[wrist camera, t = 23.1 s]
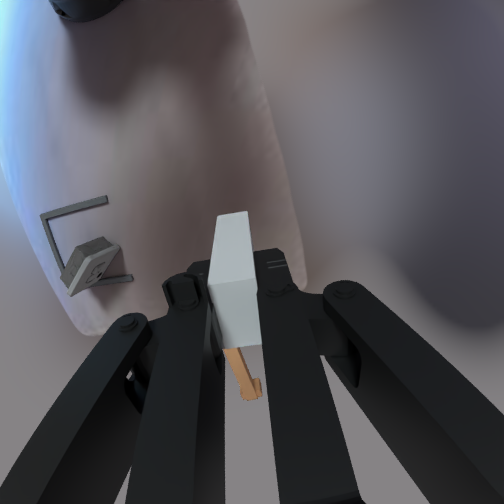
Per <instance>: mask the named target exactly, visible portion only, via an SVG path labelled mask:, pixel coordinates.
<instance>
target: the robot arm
mask: <svg viewBox="0 0 504 504" xmlns="http://www.w3.org/2000/svg"><path fill="white" fill-rule="evenodd" d="M122 1H123V0H49V2H50V3H51V5H52V7H53V9H54V10H55V12H56V13H57V14H58V15H59V16H61V17H63V18H65V19H67V20H69V21H73V22H86V21H91V20H94V19H96V18H99V17H101V16H103V15H105V14H107V13H108V12H110V11H111V10H113V9H114V8H115V7H116V6H118V5H119V4H120V3H121V2H122ZM162 288H163V291H164V294H165V297H166V300H167V302H168V305H169V309H168V313H167V315H166V316H163V317H161V318H158V319H155V320H152V321H149V322H148V320H147V318H146V316H145V315H143V314H141V313H129V314H126V315H123V316H122V317H120V318H118V319H117V320H116V321H115V322H114V323H113V324H112V325H111V326H110V328H109V329H108V330H107V331H106V333H105V334H104V335H103V337H102V338H101V339H100V341H99V342H98V343H97V345H96V346H95V347H94V348H93V350H92V351H91V352H90V354H89V355H88V356H87V358H86V359H85V361H84V362H83V363H82V364H81V366H80V367H79V369H78V370H77V372H76V373H75V374H74V375H73V377H72V378H71V380H70V381H69V382H68V384H67V385H66V387H65V388H64V390H63V391H62V392H61V394H60V395H59V396H58V398H57V399H56V401H55V402H54V404H53V405H52V407H51V408H50V410H49V411H48V412H47V414H46V416H45V417H44V418H43V420H42V421H41V423H40V424H39V426H38V427H37V429H36V430H35V432H34V433H33V435H32V436H31V438H30V440H29V441H28V443H27V444H26V446H25V447H24V449H23V450H22V452H21V454H20V455H19V457H18V459H17V460H16V462H15V463H14V465H13V467H12V468H11V470H10V472H9V473H8V475H7V477H6V479H5V480H4V482H3V484H2V486H1V487H0V504H114V502H115V500H116V498H117V495H118V493H119V491H120V489H121V487H122V485H123V482H124V480H125V478H126V476H127V474H128V472H129V469H130V467H131V472H130V477H129V483H128V489H127V495H126V502H125V504H225V425H224V424H225V357H224V354H223V350H222V340H223V344H224V347H225V349H230V348H238V347H245V346H252V345H259V344H262V349H263V358H264V367H265V375H266V385H267V394H268V402H269V411H270V420H271V428H272V437H273V446H274V456H275V464H276V473H277V482H278V491H279V500H280V504H366V503H365V502H364V501H363V500H362V498H361V496H360V493H359V490H358V486H357V482H356V479H355V475H354V471H353V467H352V464H351V460H350V456H349V453H348V449H347V446H346V442H345V438H344V435H343V431H342V428H341V424H340V421H339V418H338V414H337V411H336V407H335V404H334V400H333V397H332V394H331V390H330V387H329V384H328V381H327V377H326V374H325V371H324V367H323V364H322V361H321V358H320V355H324V356H325V359H326V361H327V362H328V363H329V365H330V366H331V368H332V369H333V370H334V372H335V373H336V375H337V376H338V377H339V379H340V380H341V382H342V383H343V384H344V386H345V387H346V389H347V390H348V391H349V393H350V394H351V395H352V397H353V398H354V400H355V401H356V402H357V404H358V405H359V407H360V408H361V409H362V410H363V412H364V413H365V415H366V416H367V418H368V419H369V420H370V422H371V423H372V424H373V426H374V427H375V429H376V430H377V431H378V433H379V434H380V436H381V437H382V438H383V440H384V441H385V442H386V444H387V445H388V447H389V448H390V449H391V451H392V452H393V453H394V455H395V456H396V457H397V459H398V460H399V462H400V463H401V464H402V466H403V467H404V468H405V470H406V471H407V473H408V474H409V475H410V477H411V478H412V479H413V481H414V482H415V484H416V485H417V486H418V488H419V489H420V490H421V492H422V493H423V495H424V496H425V497H426V499H427V500H428V501H429V503H430V504H504V415H503V414H502V413H501V412H500V411H499V410H498V409H497V408H496V407H495V406H494V405H493V404H492V403H491V402H490V401H489V400H488V399H487V398H486V397H485V396H484V395H483V394H482V393H481V392H480V391H479V390H478V389H477V388H476V387H475V386H474V385H473V384H472V383H471V382H469V381H468V380H467V379H466V378H465V377H464V376H463V375H462V374H461V373H460V372H459V371H458V370H457V369H456V368H455V367H454V366H453V365H452V364H451V363H449V362H448V361H447V360H446V359H445V358H444V357H443V356H442V355H441V354H440V353H439V352H438V351H436V350H435V349H434V348H433V347H432V346H431V345H430V344H429V343H428V342H427V341H425V340H424V339H423V338H422V337H421V336H420V335H419V334H418V333H416V332H415V331H414V330H413V329H412V328H411V327H410V326H409V325H408V324H406V323H405V322H404V321H403V320H402V319H401V318H399V317H398V316H397V315H396V314H395V313H394V312H393V311H392V310H390V309H389V308H388V307H387V306H386V305H385V304H384V303H382V302H381V301H380V300H379V299H378V298H377V297H375V296H374V295H373V294H372V293H371V292H370V291H368V290H367V289H366V288H365V287H364V286H362V285H361V284H359V283H357V282H353V281H350V280H341V281H336V282H333V283H331V284H329V285H327V286H326V287H325V289H324V291H323V294H311V293H306V292H302V291H300V290H299V289H298V287H297V286H296V284H295V283H293V280H292V277H291V274H290V271H289V268H288V265H287V262H286V259H285V256H284V253H283V252H282V251H280V250H279V249H277V248H273V249H267V250H261V251H255V252H254V248H253V242H252V236H251V230H250V224H249V218H248V212H247V211H243V212H237V213H231V214H225V215H220V216H217V223H216V229H215V236H214V242H213V249H212V256H211V260H205V261H198V262H194V263H193V264H192V265H191V266H190V267H189V268H188V269H187V272H184V273H180V274H176V275H174V276H172V277H170V278H169V279H167V280H166V281H165V282H164V283H163V285H162ZM129 371H131V372H132V375H131V377H130V378H129V379H127V378H126V376H127V375H128V373H129ZM131 465H132V466H131Z"/></svg>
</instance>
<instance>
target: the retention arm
mask: <svg viewBox="0 0 504 504" xmlns="http://www.w3.org/2000/svg"><path fill="white" fill-rule="evenodd" d="M222 349H224V352H225V354H226V356H227V358H228V361H229V363H230V365H231V368H232V370H233V372H234V374H235V376H236V378H237V380H238V383H239V385H240V393H241V396H242V398H243V400H244V399H246V400H247V401H249V400H254V399H258V397H260V396H262V389H261V382H260V380H259V378H255V379H252V378H251V375H250V373H249V370H248V368H247V365H246V363H245V360H244V358H243V355H242V353H241V350H240V348H239V347H238V348H230V349H225V347H224V344H223V340H222Z"/></svg>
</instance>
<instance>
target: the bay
mask: <svg viewBox="0 0 504 504" xmlns="http://www.w3.org/2000/svg"><path fill="white" fill-rule="evenodd" d="M107 201H108V198H107V195H106V196H102V197H98V198H94V199H91V200H87V201H83V202H80V203H76V204H73V205H70V206H66V207H63V208H59V209H56V210H53V211H50V212H46V213H43V214H41V215H40V218H41V221H42V224H43V227H44V230H45V232H46V235H47V238H48V241H49V244H50V246H51V249H52V251H53V254H54V257H55V259H56V262H57V264H58V267H59V269H60V271H61V274H62V273H63V271H64V269H65V267H64V264H63V262H62V259H61V257H60V254H59V251H58V249H57V246H56V243H55V241H54V238H53V235H52V232H51V229H50V227H49V224H48V221H47V218H50V217H54V216H57V215H61V214H64V213H68V212H71V211H75V210H78V209H82V208H86V207H89V206H93V205H97V204H101V203H105V202H107ZM127 281H133V276H132V274H130V275H124V276H118V277H111V278H105V279H99V280H98V281H97V282H96V283H94V284H92V285H91V286H89V287H94V286H100V285H107V284H114V283H121V282H127Z"/></svg>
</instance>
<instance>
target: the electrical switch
mask: <svg viewBox="0 0 504 504" xmlns="http://www.w3.org/2000/svg"><path fill="white" fill-rule="evenodd" d="M99 246H100V247H99ZM119 249H120V247H119V246H118V245H117V244H115V245H113V246H112V245H111V243H110V242H108V241H107V240H106V239H105V238H104V237H100V238H97V239H95V240H92V241H89V242H87V243H84V244H82V245H79V246H77V247H76V248H75V249H74V251H73V253H72V255H71V257H70V259H69V261H68V263H67V265H66V267H65V269H64V271H63V273H62V275H61V277H60V279H61V280H62V281H63V282H64V284H65V285H66V287H67V288H68V291H67V294H68V295H69V296H70V297H72V296H74V295H75V294H77V293H79V292H81V291H82V290H84V289H86V288H87V287H89V286H91V285H92V284H94V283H96V282H97V281H98V280H99V279H100V278H101V276H102V275H103V273H104V272H105V270H106V269H107V267H108V265H109V264H110V262H111V261H112V259H113V258H114V256H115V255H116V253H117V252H118V250H119ZM80 251H81V252H80ZM77 268H78V269H77Z"/></svg>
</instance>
